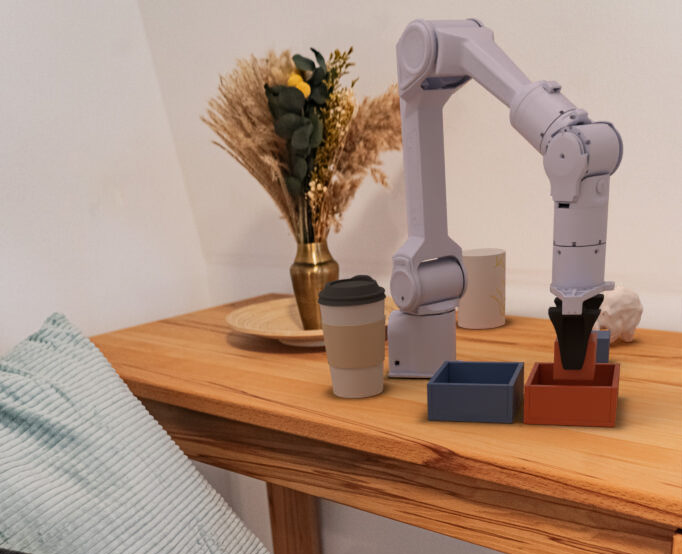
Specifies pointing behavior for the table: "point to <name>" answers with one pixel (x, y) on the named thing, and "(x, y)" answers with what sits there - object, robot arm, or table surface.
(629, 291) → the white animal figurine
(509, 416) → the blue bin
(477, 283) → the cup
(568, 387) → the terracotta bin
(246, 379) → the table surface
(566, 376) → the terracotta block
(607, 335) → the blue block
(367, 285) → the coffee cup
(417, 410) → the table surface
